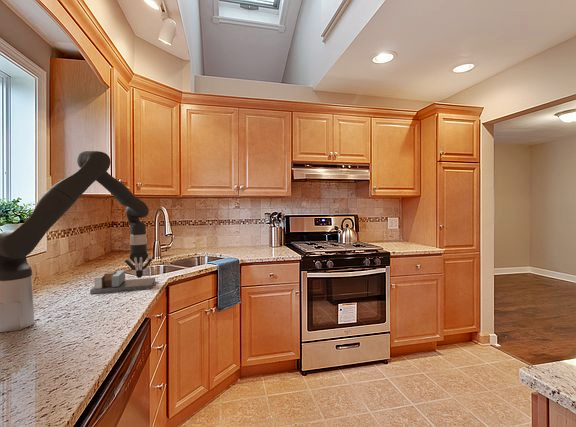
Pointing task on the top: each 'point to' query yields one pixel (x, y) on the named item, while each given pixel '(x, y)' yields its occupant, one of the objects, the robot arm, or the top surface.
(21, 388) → the top surface
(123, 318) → the top surface
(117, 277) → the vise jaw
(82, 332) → the top surface
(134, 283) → the plate
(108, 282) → the walnut block
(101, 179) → the robot arm
